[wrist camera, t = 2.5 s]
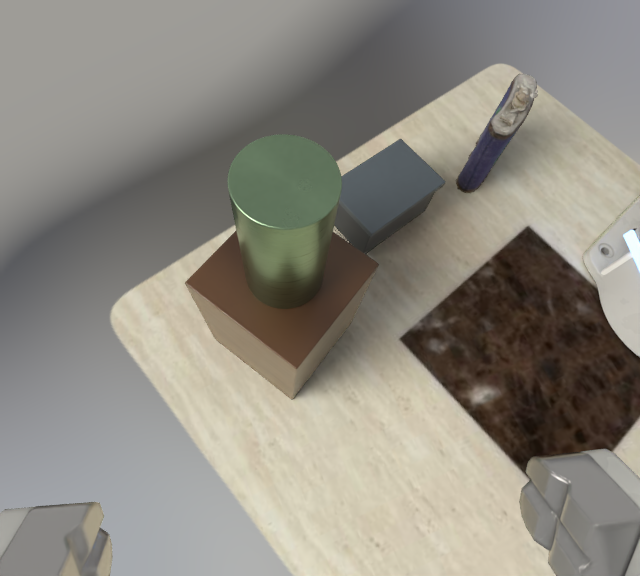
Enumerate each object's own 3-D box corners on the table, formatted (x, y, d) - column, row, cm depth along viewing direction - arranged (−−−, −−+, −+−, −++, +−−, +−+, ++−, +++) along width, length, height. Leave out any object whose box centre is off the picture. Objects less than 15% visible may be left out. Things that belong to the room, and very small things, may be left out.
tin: (278, 225, 29) (276, 116, 20) (338, 267, 29) (364, 173, 19) (229, 278, 28) (202, 184, 18) (290, 324, 27) (295, 251, 18)
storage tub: (388, 171, 48) (400, 138, 43) (428, 211, 46) (445, 181, 41) (321, 215, 45) (326, 185, 40) (362, 260, 44) (372, 234, 39)
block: (276, 268, 42) (274, 190, 30) (351, 322, 41) (379, 263, 29) (214, 338, 39) (184, 282, 27) (292, 400, 38) (296, 369, 26)
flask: (481, 131, 51) (529, 52, 41) (504, 142, 51) (557, 65, 41) (451, 186, 48) (495, 114, 38) (475, 199, 47) (525, 129, 38)
